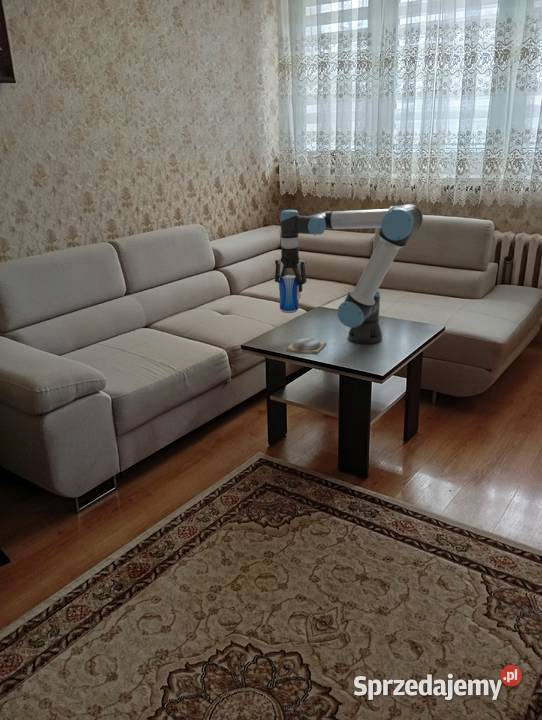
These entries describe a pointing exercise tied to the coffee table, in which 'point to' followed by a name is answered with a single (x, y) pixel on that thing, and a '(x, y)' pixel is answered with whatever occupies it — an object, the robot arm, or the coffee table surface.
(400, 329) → the coffee table surface
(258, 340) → the coffee table surface
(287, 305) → the beer can
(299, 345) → the hub board
